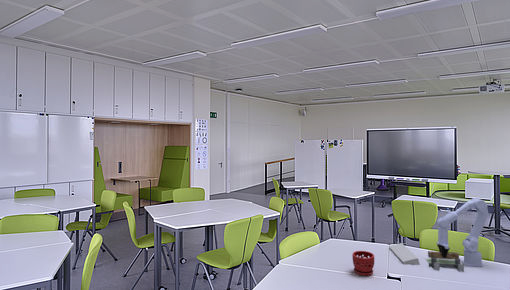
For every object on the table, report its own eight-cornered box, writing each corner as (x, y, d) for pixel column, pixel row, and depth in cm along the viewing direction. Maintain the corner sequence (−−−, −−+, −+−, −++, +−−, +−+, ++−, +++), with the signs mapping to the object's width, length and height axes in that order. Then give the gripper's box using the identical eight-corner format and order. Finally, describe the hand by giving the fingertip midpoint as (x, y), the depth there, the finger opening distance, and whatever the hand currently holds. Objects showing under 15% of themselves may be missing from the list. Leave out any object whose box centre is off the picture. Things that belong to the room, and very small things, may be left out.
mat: (457, 260, 221) (457, 260, 221) (462, 265, 212) (462, 264, 212) (425, 259, 225) (425, 258, 225) (429, 263, 216) (429, 263, 216)
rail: (457, 257, 219) (456, 252, 219) (459, 259, 215) (459, 254, 215) (428, 256, 222) (428, 251, 222) (429, 258, 219) (429, 252, 219)
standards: (462, 268, 207) (462, 259, 207) (466, 271, 201) (466, 262, 202) (428, 266, 211) (428, 257, 212) (431, 269, 206) (431, 260, 206)
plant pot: (348, 270, 206) (348, 252, 206) (365, 267, 210) (364, 249, 210) (361, 278, 194) (361, 258, 194) (379, 275, 198) (379, 255, 198)
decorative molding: (404, 268, 216) (420, 265, 215) (402, 261, 216) (417, 258, 215) (390, 252, 250) (403, 249, 248) (388, 246, 250) (401, 242, 249)
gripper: (433, 233, 227) (433, 252, 227) (440, 239, 213) (440, 259, 212) (444, 233, 225) (444, 253, 225) (452, 239, 211) (452, 260, 211)
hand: (443, 256), depth 219 cm, fingers closed on rail, 3 cm apart
